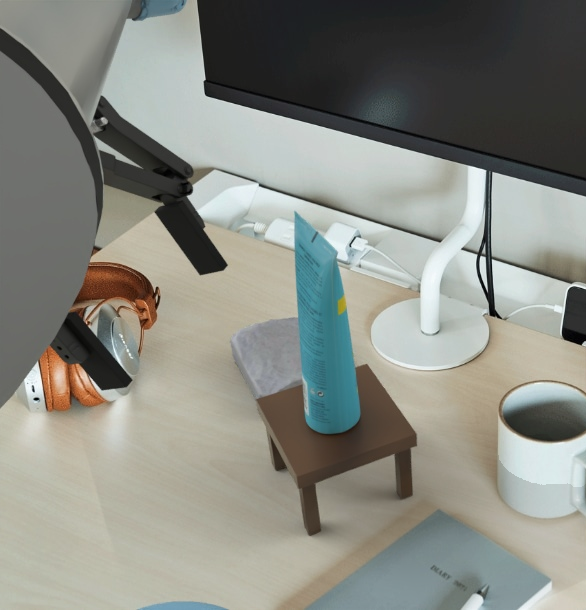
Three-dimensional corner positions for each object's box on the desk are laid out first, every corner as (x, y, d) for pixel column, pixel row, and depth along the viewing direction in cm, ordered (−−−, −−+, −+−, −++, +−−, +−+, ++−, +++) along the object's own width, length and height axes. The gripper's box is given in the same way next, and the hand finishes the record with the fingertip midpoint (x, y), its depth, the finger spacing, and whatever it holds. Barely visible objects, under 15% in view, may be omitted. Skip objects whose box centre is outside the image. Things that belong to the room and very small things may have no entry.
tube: (378, 427, 81) (366, 240, 70) (331, 451, 79) (310, 262, 68) (333, 384, 86) (315, 203, 75) (287, 405, 83) (261, 221, 72)
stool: (306, 541, 81) (296, 476, 76) (266, 461, 89) (255, 399, 84) (419, 496, 85) (416, 433, 81) (371, 424, 93) (367, 363, 88)
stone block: (308, 344, 106) (222, 356, 101) (313, 309, 104) (225, 320, 99) (349, 407, 98) (259, 424, 93) (356, 371, 96) (263, 387, 91)
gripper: (64, 18, 71) (216, 237, 82) (-206, 196, 53) (33, 446, 64) (130, -12, 67) (280, 223, 78) (-137, 170, 50) (104, 440, 60)
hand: (169, 324), depth 71 cm, fingers open, 13 cm apart
